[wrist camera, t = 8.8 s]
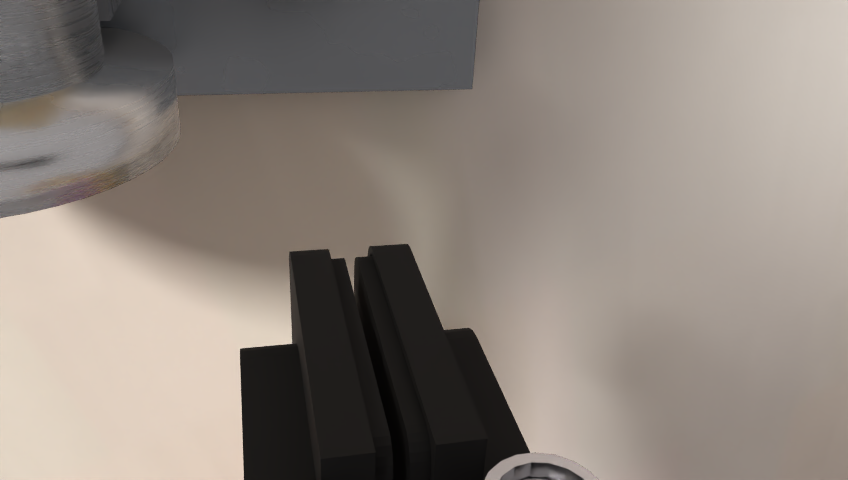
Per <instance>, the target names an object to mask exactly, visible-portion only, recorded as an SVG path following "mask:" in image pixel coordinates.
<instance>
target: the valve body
mask: <svg viewBox="0 0 848 480" xmlns="http://www.w3.org/2000/svg"><path fill="white" fill-rule="evenodd" d="M478 8H479V0H0V218H3V217H8V216H14V215H20V214H25V213H30V212H34V211H38V210H43V209H47V208H51V207H56V206H59V205H63V204H66V203H70V202H73V201H76V200H80V199H83V198H86V197H89V196H92V195H95V194H98V193H100V192H103V191H106V190H109V189H111V188H113V187H116V186H118V185H120V184H123V183H125V182H127V181H129V180H131V179H133V178H135V177H137V176H139V175H141V174H142V173H144V172H146V171H148V170H149V169H151V168H152V167H154V166H155V165H156V164H158V163H159V162H161V161H162V160H163V159H164V158H165V157H166V156H167V155H168V154H169V153H170V152H171V151H172V150H173V149H174V147H175V146H176V144H177V143H178V140H179V137H180V134H181V129H180V118H179V108H178V99H177V95H220V94H266V93H312V92H357V91H403V90H449V89H472V84H473V71H474V59H475V46H476V33H477V21H478Z"/></svg>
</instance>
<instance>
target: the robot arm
mask: <svg viewBox="0 0 848 480" xmlns="http://www.w3.org/2000/svg"><path fill="white" fill-rule="evenodd" d="M289 267H290V293H291V319H292V344H286V345H275V346H264V347H253V348H242V349H240V366H241V397H242V428H243V459H244V480H599V479H598V478H597V477H596V476H595V475H594V474H593V473H592V472H591V471H589V470H588V469H586V468H584V467H583V466H581V465H579V464H578V463H576V462H574V461H572V460H569V459H566V458H563V457H560V456H557V455H554V454H545V453H536V452H534V453H530V451H529V449H528V447H527V445H526V443H525V441H524V438H523V436H522V434H521V432H520V430H519V428H518V425H517V423H516V421H515V419H514V417H513V415H512V412H511V410H510V408H509V406H508V404H507V402H506V399H505V397H504V395H503V393H502V391H501V389H500V386H499V384H498V382H497V380H496V378H495V376H494V373H493V371H492V369H491V367H490V365H489V363H488V360H487V358H486V356H485V354H484V352H483V350H482V347H481V345H480V343H479V341H478V339H477V337H476V335H475V333H474V332H473V330H471V329H470V328H462V329H451V330H443V327H442V325H441V322H440V320H439V317H438V315H437V313H436V310H435V308H434V305H433V303H432V300H431V298H430V295H429V293H428V290H427V288H426V286H425V283H424V281H423V278H422V276H421V273H420V271H419V268H418V266H417V263H416V261H415V259H414V256H413V254H412V251H411V249H410V247H409V245H408V244H399V245H384V246H370V247H369V250H368V257H356V258H355V265H354V293H353V289H352V285H351V281H350V277H349V273H348V270H347V266H346V262H345V259H344V258H340V259H331V257H330V252H329V250H328V249H324V250H308V251H293V252H289Z"/></svg>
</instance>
